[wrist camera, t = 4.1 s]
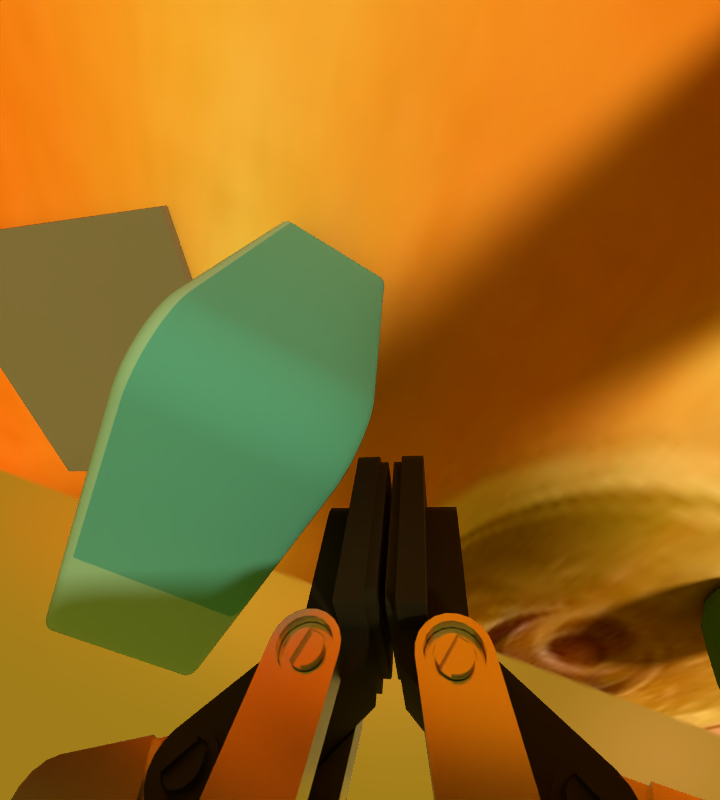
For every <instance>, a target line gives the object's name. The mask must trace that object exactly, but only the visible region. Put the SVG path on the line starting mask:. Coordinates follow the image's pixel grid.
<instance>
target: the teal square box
mask: <svg viewBox="0 0 720 800" xmlns="http://www.w3.org/2000/svg"><path fill="white" fill-rule="evenodd" d="M383 290H384V282H383V280H382V278H381V277H379V276H377V275H376V274H374V273H373V272H371V271H369V270H368V269H366V268H364V267H363V266H361V265H360V264H358V263H356V262H355V261H353V260H351V259H350V258H348V257H347V256H345V255H343V254H342V253H340V252H338V251H337V250H335V249H334V248H332V247H330V246H329V245H327V244H325V243H324V242H322V241H320V240H319V239H317V238H316V237H314V236H312V235H311V234H309V233H307V232H306V231H304V230H303V229H301V228H299V227H298V226H296V225H294V224H293V223H291V222H288V221H286V222H283V223H281V224H280V225H278V226H276V227H275V228H273V229H272V230H270V231H269V232H267V233H265V234H264V235H262V236H261V237H259V238H258V239H256V240H254V241H253V242H251V243H250V244H248V245H246V246H245V247H243V248H242V249H240V250H239V251H237V252H235V253H234V254H232V255H231V256H229V257H228V258H226V259H224V260H223V261H221V262H220V263H218V264H217V265H215V266H213V267H212V268H210V269H209V270H207V271H206V272H204V273H202V274H201V275H199V276H198V277H196V278H195V279H193V280H191V281H190V282H188V283H187V284H185V285H184V286H182V287H180V288H179V289H177V290H176V291H174V292H173V293H172V294H170V295H169V296H168V297H167V298H166V299H165V300H163V302H162V303H161V304H160V305H159V306H158V307H157V308H156V309H155V310H154V311H153V313H152V314H151V315H150V316H149V318H148V319H147V320H146V322H145V323H144V324H143V326H142V327H141V329H140V330H139V332H138V333H137V335H136V336H135V338H134V340H133V341H132V343H131V345H130V347H129V348H128V350H127V352H126V354H125V356H124V358H123V360H122V362H121V364H120V366H119V369H118V371H117V373H116V376H115V379H114V381H113V384H112V387H111V391H110V394H109V398H108V401H107V405H106V408H105V412H104V415H103V419H102V423H101V426H100V430H99V433H98V437H97V440H96V444H95V447H94V451H93V454H92V458H91V461H90V465H89V468H88V472H87V476H86V479H85V483H84V486H83V490H82V493H81V497H80V500H79V504H78V508H77V511H76V514H75V518H74V522H73V525H72V529H71V532H70V536H69V539H68V543H67V547H66V550H65V553H64V557H63V561H62V564H61V568H60V571H59V575H58V579H57V582H56V585H55V589H54V593H53V596H52V600H51V603H50V607H49V610H48V614H47V618H46V624H47V627H48V628H49V629H50V630H52V631H55V632H58V633H62V634H64V635H67V636H70V637H73V638H76V639H79V640H82V641H85V642H88V643H91V644H94V645H97V646H100V647H103V648H106V649H109V650H111V651H114V652H117V653H121V654H123V655H126V656H129V657H132V658H135V659H138V660H141V661H144V662H147V663H150V664H153V665H156V666H159V667H162V668H165V669H168V670H171V671H174V672H177V673H180V674H182V675H189V674H192V673H193V672H194V671H195V670H196V669H197V668H198V667H199V666H200V665H201V663H202V662H203V661H204V659H205V658H206V657H207V655H208V654H209V653H210V652H211V650H212V649H213V648H214V646H215V645H216V644H217V642H218V641H219V640H220V639H221V637H222V636H223V635H224V633H225V632H226V631H227V629H228V628H229V627H230V626H231V624H232V623H233V622H234V620H235V619H236V617H237V616H238V615H239V614H240V612H241V611H242V609H244V607H245V606H246V605H247V603H248V602H249V601H250V599H251V598H252V597H253V595H254V594H255V593H256V592H257V590H258V589H259V588H260V586H261V585H262V584H263V583H264V581H265V580H266V579H267V577H268V576H269V575H270V573H271V572H272V571H273V569H274V568H275V567H276V566H277V564H278V563H279V562H280V560H281V559H282V558H283V556H284V555H285V554H286V553H287V551H288V550H289V549H290V547H291V546H292V545H293V543H294V542H295V541H296V539H297V538H298V537H299V536H300V534H301V533H302V532H303V530H304V529H305V528H306V526H307V525H308V524H309V523H310V521H311V520H312V519H313V517H314V516H315V515H316V513H317V512H318V511H319V509H320V508H321V507H322V506H323V504H324V503H325V502H326V500H327V499H328V498H329V496H330V495H331V494H332V492H333V491H334V490H335V488H336V487H337V486H338V484H339V483H340V481H341V479H342V478H343V476H344V475H345V473H346V471H347V469H348V468H349V466H350V464H351V462H352V460H353V458H354V456H355V454H356V452H357V450H358V448H359V446H360V444H361V441H362V439H363V437H364V434H365V432H366V429H367V426H368V424H369V421H370V417H371V414H372V410H373V405H374V398H375V386H376V374H377V362H378V350H379V338H380V326H381V314H382V302H383Z"/></svg>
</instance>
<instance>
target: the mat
mask: <svg viewBox="0 0 720 800" xmlns="http://www.w3.org/2000/svg"><path fill="white" fill-rule="evenodd" d="M191 280H192V277H191V274H190V271H189V268H188V265H187V263H186V260H185V257H184V254H183V251H182V248H181V245H180V242H179V239H178V236H177V233H176V231H175V228H174V225H173V222H172V219H171V216H170V213H169V210H168V207H167V206H160V207H153V208H146V209H139V210H132V211H125V212H118V213H111V214H104V215H97V216H90V217H83V218H76V219H69V220H62V221H55V222H49V223H42V224H35V225H28V226H21V227H14V228H7V229H0V367H1V369H2V370H3V372H4V373H5V375H6V376H7V378H8V379H9V381H10V383H11V384H12V386H13V387H14V389H15V390H16V392H17V393H18V395H19V396H20V398H21V399H22V401H23V402H24V404H25V405H26V407H27V408H28V410H29V411H30V413H31V414H32V416H33V418H34V419H35V421H36V422H37V424H38V425H39V427H40V428H41V430H42V431H43V433H44V434H45V436H46V437H47V439H48V440H49V442H50V443H51V445H52V446H53V448H54V449H55V451H56V452H57V454H58V456H59V457H60V459H61V460H62V462H63V463H64V465H65V466H66V468H67V469H68V471H88V468H89V465H90V461H91V458H92V454H93V451H94V447H95V444H96V440H97V437H98V433H99V430H100V426H101V423H102V419H103V415H104V412H105V408H106V405H107V401H108V398H109V394H110V391H111V387H112V384H113V381H114V379H115V376H116V373H117V371H118V369H119V366H120V364H121V362H122V360H123V358H124V356H125V354H126V352H127V350H128V348H129V347H130V345H131V343H132V341H133V340H134V338H135V336H136V335H137V333H138V332H139V330H140V329H141V327H142V326H143V324H144V323H145V322H146V320H147V319H148V318H149V316H150V315H151V314H152V313H153V311H154V310H155V309H156V308H157V307H158V306H159V305H160V304H161V303H162V302H163V300H165V299H166V298H167V297H168V296H169V295H170V294H172V293H173V292H174V291H176V290H177V289H179V288H180V287H182V286H184V285H185V284H187V283H188V282H190V281H191Z"/></svg>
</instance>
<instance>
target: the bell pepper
mask: <svg viewBox="0 0 720 800" xmlns="http://www.w3.org/2000/svg"><path fill="white" fill-rule="evenodd" d="M701 628H702V632H703V636H704V640H705V644H706V648H707V652H708V655H709V658H710V662H711V665H712V668H713V671H714V675H715V678H716V681H717V684H718V686H719V688H720V588H718V589H717V590H716V591H715V592H714V593H713V594H711V595H710V596H709V597H708V598H707V599H706V600H705V603H704V610H703V617H702V624H701Z"/></svg>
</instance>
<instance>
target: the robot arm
mask: <svg viewBox="0 0 720 800" xmlns="http://www.w3.org/2000/svg"><path fill="white" fill-rule="evenodd" d="M393 651H394V657H395V663H396V668H397V674H398V679H399V680H401V683H402V689H403V695H404V700H405V706H406V710H407V711H408V712H409V713H410V714H411V716H412V717H413V718H414V720H415V721H416V722H417V723H418V724H419V726H420V727H421V728H422V730H423V731H424V732H425V738H426V746H427V753H428V760H429V768H430V775H431V782H432V789H433V797H434V800H703V799H700V798H697V797H694V796H692V795H689V794H686V793H683V792H680V791H677V790H674V789H672V788H669V787H666V786H663V785H660V784H657V783H654V782H651V783H650V785H646V784H643V783H641V782H637V781H635V780H632V779H629V778H626V777H623V776H621V775H620V774H619V773H618V772H617V770H615V768H614V767H613V766H611V765H610V764H609V763H608V762H607V761H606V760H605V759H604V758H603V757H602V756H601V755H600V754H598V753H597V752H596V751H595V750H594V749H593V748H592V747H591V746H590V745H589V744H588V743H587V742H585V741H584V740H583V739H582V738H581V737H580V736H579V735H578V734H577V733H576V732H575V731H573V730H572V729H571V728H570V727H569V726H568V725H567V724H566V723H565V722H564V721H563V720H562V719H561V718H559V717H558V716H557V715H556V714H555V713H554V712H553V711H552V710H551V709H550V708H548V706H546V705H545V704H544V703H543V702H542V701H541V700H540V699H539V698H538V697H537V696H536V695H534V694H533V693H532V692H531V691H530V690H529V689H528V688H527V687H526V686H525V685H524V684H523V683H522V682H520V681H519V680H518V679H517V678H516V677H515V676H514V675H513V674H512V673H511V672H510V671H508V670H507V669H506V668H505V667H504V666H503V665H502V664H501V663H500V662H499V661H498V658H497V655H496V651H495V648H494V645H493V643H492V641H491V639H490V637H489V635H488V634H487V632H486V631H485V630H484V629H483V628H482V627H481V625H480V624H478V623H477V622H475V621H474V620H472V619H471V618H469V616H468V607H467V598H466V589H465V580H464V571H463V562H462V553H461V544H460V535H459V526H458V517H457V509H456V507H427V500H426V487H425V473H424V459H423V456H402V462H394V471H393V485H391V477H390V470H389V463H388V462H382V463H381V458H380V457H364V458H359V460H358V464H357V470H356V475H355V480H354V486H353V491H352V497H351V502H350V507H349V508H332V509H331V510H330V513H329V516H328V520H327V524H326V528H325V532H324V537H323V541H322V545H321V549H320V553H319V558H318V562H317V566H316V570H315V574H314V579H313V583H312V587H311V592H310V595H309V600H308V604H307V608H306V609H303V610H300V611H296V612H294V613H293V614H291V615H289V616H288V617H286V618H285V619H284V620H283V621H282V622H281V623H280V624H279V625H278V626H277V628H276V629H275V631H274V633H273V634H272V636H271V638H270V640H269V643H268V645H267V647H266V650H265V652H264V654H263V656H262V658H261V661H260V662H259V663H258V664H256V665H255V666H254V667H253V668H251V670H249V671H248V672H246V674H244V675H243V676H242V677H240V678H239V679H238V680H237V681H235V682H234V683H233V684H231V685H230V686H229V687H228V688H226V689H225V690H224V691H223V692H221V693H220V694H219V695H218V696H216V697H215V698H214V699H213V700H211V701H210V702H209V703H208V704H206V705H205V706H204V707H203V708H201V709H200V710H199V711H198V712H196V713H195V714H194V715H193V716H191V718H189V719H188V720H186V721H185V722H184V723H183V724H181V725H180V726H179V727H178V728H176V729H175V730H174V731H173V732H172V733H171V734H170V735H169V736H166V737H162V738H156V737H155V736H154V735H149V736H145V737H140V738H136V739H131V740H126V741H121V742H116V743H111V744H107V745H102V746H98V747H93V748H88V749H83V750H78V751H73V752H69V753H64V754H60V755H58V756H55V757H53V758H50V759H48V760H46V761H45V762H43V763H42V764H41V765H40V766H38V767H37V768H36V769H34V770H33V771H32V772H31V773H30V774H29V775H28V777H27V778H26V779H25V780H24V781H23V782H22V783H21V785H20V786H19V787H18V789H17V791H16V792H15V794H14V795H13V797H12V799H11V800H346V799H347V795H348V790H349V785H350V781H351V776H352V771H353V767H354V763H355V758H356V753H357V749H358V744H359V739H360V735H361V731H362V723H363V719H364V718H365V717H366V715H368V713H370V711H371V710H372V709H373V708H374V707H375V705H376V694H382V688H383V679H391V677H392V664H393Z"/></svg>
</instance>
